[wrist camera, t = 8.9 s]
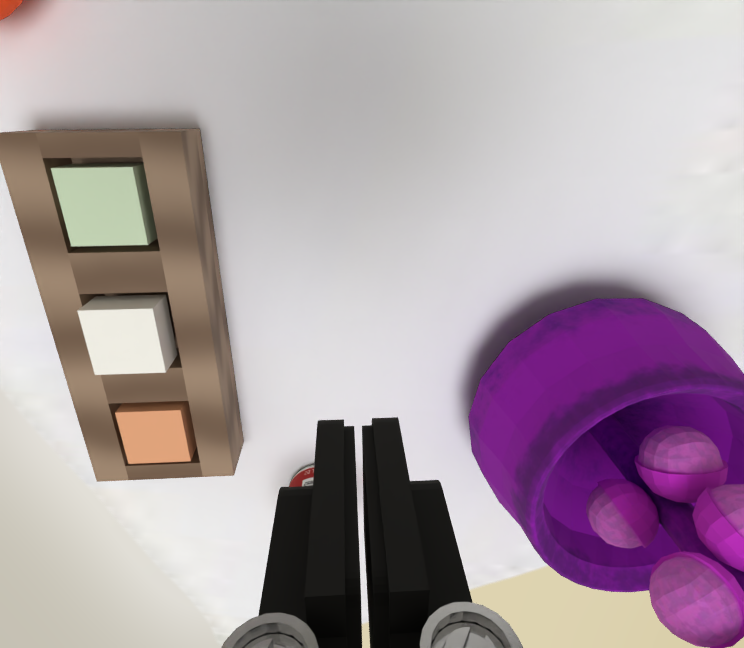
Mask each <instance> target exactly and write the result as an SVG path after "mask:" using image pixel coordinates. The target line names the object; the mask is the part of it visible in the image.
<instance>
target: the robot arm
mask: <svg viewBox="0 0 744 648" xmlns="http://www.w3.org/2000/svg"><path fill="white" fill-rule="evenodd" d="M362 444H363V501H364V539H365V558H366V576H367V595H368V613H369V630H370V631H369V632H370V648H523V646H522V644H521V642H520V640H519V638H518V637H517V635H516V634H515V632H514V631H513V629H512V628H511V626H510V625H509V624H508V623H507V622H506V621H505V620H504V619H503V618H502V617H501V616H500V615H498V614H497V613H496V612H494V611H492V610H490V609H489V608H486V607H485V606H483V605H479V604H475V603H472V599H471V595H470V591H469V588H468V584H467V580H466V576H465V572H464V569H463V565H462V561H461V557H460V554H459V550H458V546H457V542H456V539H455V535H454V531H453V527H452V523H451V520H450V516H449V512H448V508H447V505H446V501H445V497H444V493H443V490H442V486H441V483H440V482H439V480H429V481H410V480H409V474H408V469H407V464H406V458H405V453H404V447H403V442H402V436H401V431H400V425H399V420H398V418H372V425H370V426H362ZM222 648H362V626H361V588H360V561H359V536H358V512H357V487H356V462H355V437H354V426H345V427H344V420H320V421H318V424H317V437H316V451H315V464H314V477H313V486H298V487H281V488H280V490H279V494H278V499H277V506H276V512H275V518H274V524H273V530H272V536H271V542H270V549H269V555H268V561H267V567H266V573H265V579H264V585H263V592H262V598H261V604H260V610H259V616H258V617H255V618H252V619H250V620H248V621H247V622H245V623H244V624H242V625H241V626H239V627H238V628H236V630H235V631H234V632H233V633H232V634H231V635H230V636H229V637H228V638H227V640H226V641H225V642H224V644H223V646H222Z"/></svg>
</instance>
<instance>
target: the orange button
mask: <svg viewBox="0 0 744 648" xmlns="http://www.w3.org/2000/svg"><path fill="white" fill-rule="evenodd" d="M115 415H116V418H117V422H118V426H119V430H120V433H121V437H122V441H123V445H124V449H125V452H126V456H127V460H128V464H138V463H161V462H184V461H191V459H192V457H193V455H194V452H195V450H196V448H197V444H196V439H195V433H194V428H193V423H192V417H191V412H190V407H189V401H166V402H139V403H122V404H121V405H120V407H119V408H118V409H117V411H116V412H115Z"/></svg>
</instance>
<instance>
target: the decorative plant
mask: <svg viewBox="0 0 744 648" xmlns="http://www.w3.org/2000/svg"><path fill="white" fill-rule="evenodd" d="M469 426H470V436H471V447H472V453H473V455H474V457H475V459H476V461H477V463H478V465H479V467H480V469H481V471H482V473H483V475H484V477H485V478H486V480H487V482H488V484H489V485H490V487H491V489H492V490H493V492H494V494H495V495H496V497H497V499H498V501H499V502H500V503H501V504H502V505H503V507H504V508H505V509H506V510H507V511H508V512H509V513H510V514H511V516H512V517H513V518H514V519H515V520H516V521H517V522H518V523H519V525H520V526H521V527H522V529H523V531H524V532H525V534H526V536H527V537H528V539H529V541H530V542H531V544H532V546H533V547H534V549H535V550H536V551H537V553H538V554H539V555H540V557H541V558H542V559H543V561H544V562H545V563H547V564H548V565H549V566H550V567H551V568H553V569H554V570H555V571H556V572H557V573H559V574H560V575H561V576H563V577H565V578H567V579H569V580H571V581H573V582H575V583H577V584H580V585H583V586H586V587H589V588H592V589H598V590H605V591H611V592H636V591H646V590H649V591H650V597H651V603H652V607H653V609H654V611H655V613H656V614H657V616H658V618H659V620H660V622H661V623H663V624H664V625H665V627H667V628H668V629H669V630H670V631H671V632H672V633H673V634H674V635H676V636H677V637H679V638H681V639H683V640H685V641H687V642H689V643H691V644H693V645H695V646H701V647H710V648H725V647H731V646H733V645H735V644H736V643H737V642H738V641H739V640H740V639H742V638H743V637H744V374H743V372H742V371H741V370H740V368H739V367H738V366H737V364H736V363H735V362H734V360H733V359H732V358H731V357H730V356H729V355H728V353H727V352H726V351H725V350H724V349H723V348H722V347H721V346H720V345H719V344H718V343H717V342H716V341H715V340H714V339H713V338H712V337H711V336H710V335H709V333H708V332H707V331H706V330H704V329H703V328H702V327H700V326H699V325H698V324H696V323H695V322H693V321H692V320H691V319H689V318H688V317H686V316H685V315H684V314H682V313H680V312H677V311H675V310H672V309H669V308H667V307H664V306H662V305H659V304H656V303H654V302H651V301H649V300H646V299H643V298H629V299H594V300H591V301H588V302H585V303H582V304H579V305H576V306H573V307H570V308H567V309H564V310H561V311H558V312H555V313H552V314H549V315H547V316H546V317H544V318H543V319H542V320H540V321H539V322H537V323H536V324H534V325H533V326H532V327H530V328H529V329H527V330H526V331H524V332H523V333H522V334H520V335H519V336H517V337H516V338H514V339H513V340H512V341H510V342H509V343H508V344H507V345H506V347H505V348H504V349H503V350H502V352H501V353H500V354H499V356H498V357H497V358H496V360H495V361H494V362H493V363H492V365H491V366H490V367H489V369H488V370H487V371H486V373H485V374H484V375H483V377H482V378H481V380H480V383H479V386H478V389H477V392H476V395H475V398H474V401H473V404H472V408H471V411H470V414H469Z"/></svg>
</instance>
